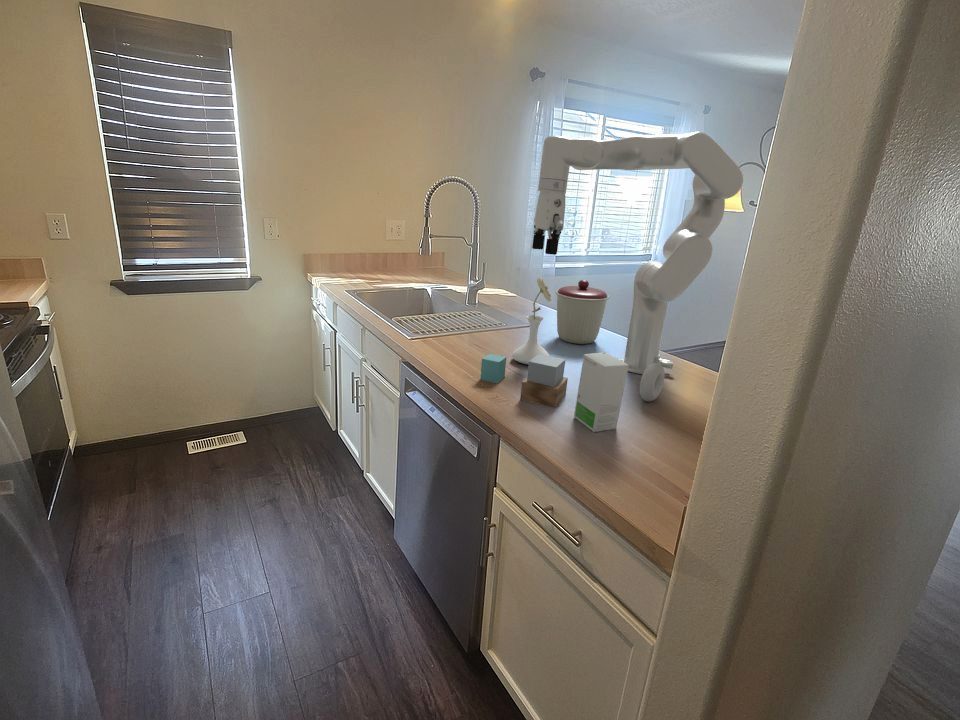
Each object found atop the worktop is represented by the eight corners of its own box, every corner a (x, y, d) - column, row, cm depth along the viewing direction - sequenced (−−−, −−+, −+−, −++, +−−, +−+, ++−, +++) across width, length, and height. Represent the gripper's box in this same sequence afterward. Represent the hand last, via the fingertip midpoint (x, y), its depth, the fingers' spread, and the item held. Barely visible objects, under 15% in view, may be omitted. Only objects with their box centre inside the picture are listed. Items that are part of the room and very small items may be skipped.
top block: (563, 378, 130) (565, 359, 128) (554, 386, 124) (556, 367, 122) (536, 372, 132) (538, 354, 131) (526, 380, 126) (528, 361, 125)
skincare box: (573, 417, 119) (581, 353, 114) (596, 414, 122) (605, 351, 117) (594, 433, 112) (604, 365, 107) (619, 429, 115) (630, 363, 110)
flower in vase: (548, 370, 149) (557, 284, 141) (509, 365, 151) (516, 280, 142) (551, 356, 161) (560, 276, 153) (515, 352, 163) (522, 273, 155)
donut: (650, 393, 136) (656, 357, 133) (662, 397, 134) (669, 360, 131) (634, 403, 129) (640, 366, 126) (647, 408, 127) (654, 369, 124)
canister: (539, 336, 182) (545, 276, 175) (575, 330, 192) (582, 274, 186) (577, 351, 168) (585, 286, 162) (613, 343, 179) (622, 283, 172)
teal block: (504, 377, 141) (506, 357, 139) (497, 383, 137) (499, 362, 135) (487, 374, 143) (489, 353, 141) (480, 379, 139) (481, 358, 137)
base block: (565, 396, 132) (567, 377, 130) (555, 408, 124) (557, 389, 122) (532, 388, 135) (534, 370, 134) (520, 400, 127) (521, 381, 126)
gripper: (579, 189, 131) (569, 257, 137) (552, 187, 147) (544, 248, 152) (552, 186, 129) (543, 255, 135) (528, 184, 145) (520, 246, 150)
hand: (544, 251), depth 143 cm, fingers open, 9 cm apart
